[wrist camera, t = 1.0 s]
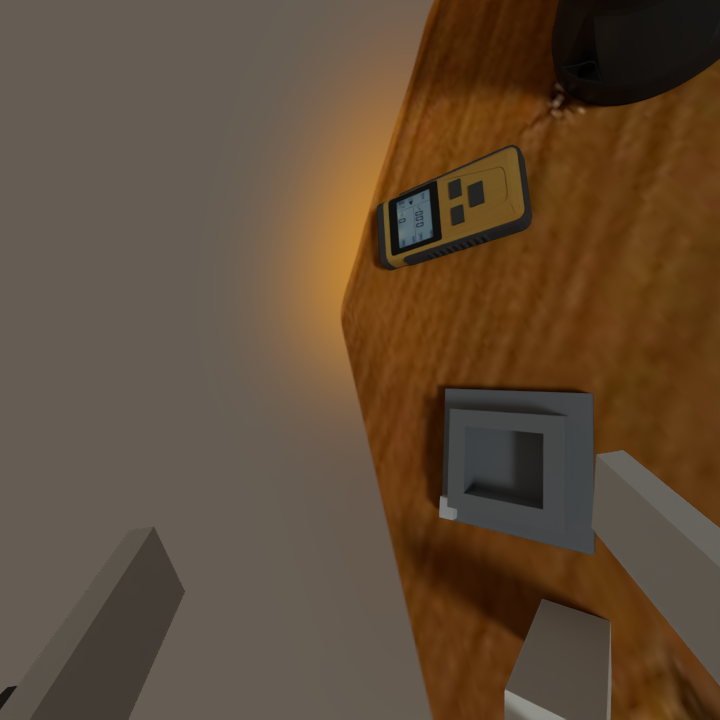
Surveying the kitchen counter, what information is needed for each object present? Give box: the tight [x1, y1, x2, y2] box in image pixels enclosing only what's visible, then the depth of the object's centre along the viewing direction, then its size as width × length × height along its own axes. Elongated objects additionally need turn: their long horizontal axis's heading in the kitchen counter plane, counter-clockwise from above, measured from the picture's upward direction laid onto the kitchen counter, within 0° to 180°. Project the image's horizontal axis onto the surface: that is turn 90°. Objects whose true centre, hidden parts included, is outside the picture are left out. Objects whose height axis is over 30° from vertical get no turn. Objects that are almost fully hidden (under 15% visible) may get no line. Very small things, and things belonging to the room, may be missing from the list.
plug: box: [504, 599, 611, 720], centre depth 24 cm, size 4×5×16 cm
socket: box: [439, 389, 595, 555], centre depth 33 cm, size 13×13×4 cm
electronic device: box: [377, 145, 532, 270], centre depth 40 cm, size 9×16×4 cm, turn 93°
